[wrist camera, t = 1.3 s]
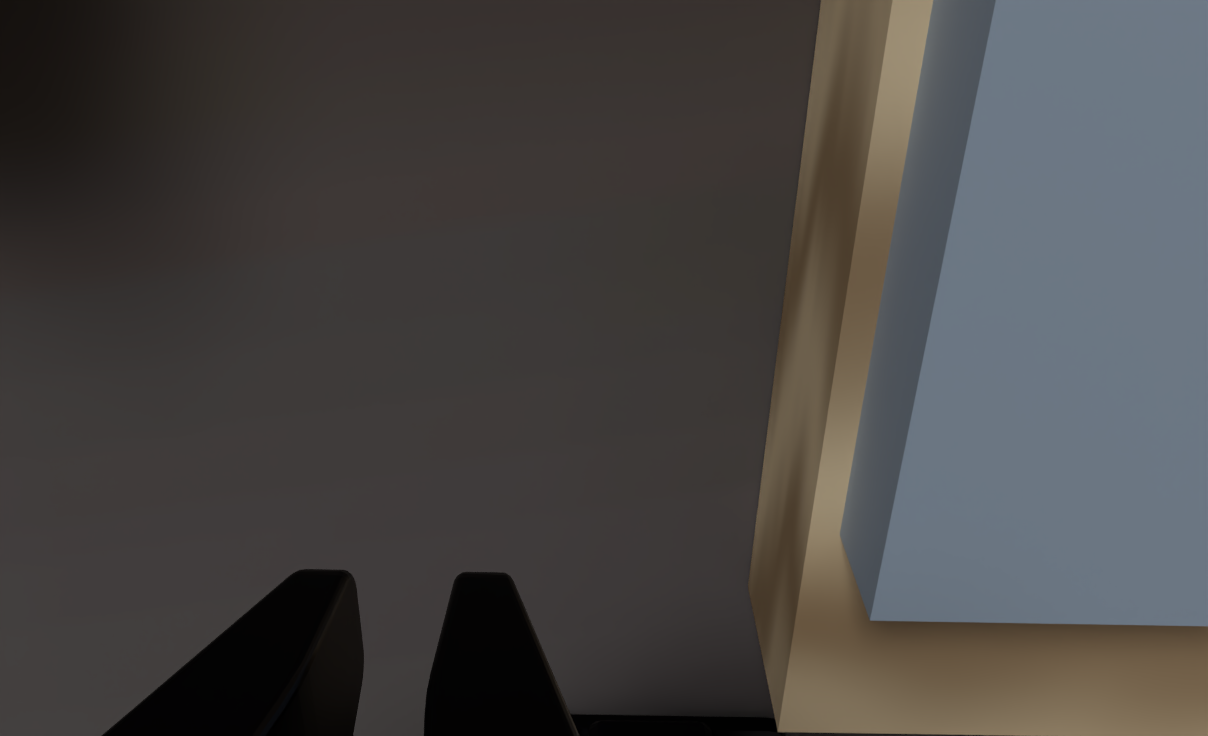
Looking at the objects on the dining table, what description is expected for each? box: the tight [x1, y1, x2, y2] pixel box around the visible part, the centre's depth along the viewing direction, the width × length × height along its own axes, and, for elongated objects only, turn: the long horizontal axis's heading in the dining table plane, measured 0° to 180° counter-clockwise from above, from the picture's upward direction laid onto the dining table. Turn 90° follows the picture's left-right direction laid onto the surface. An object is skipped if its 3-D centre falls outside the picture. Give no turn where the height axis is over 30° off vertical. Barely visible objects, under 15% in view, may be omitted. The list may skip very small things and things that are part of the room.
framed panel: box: [748, 0, 1208, 736], centre depth 16 cm, size 18×8×4 cm, turn 178°
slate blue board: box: [840, 0, 1208, 626], centre depth 13 cm, size 9×6×2 cm, turn 178°
